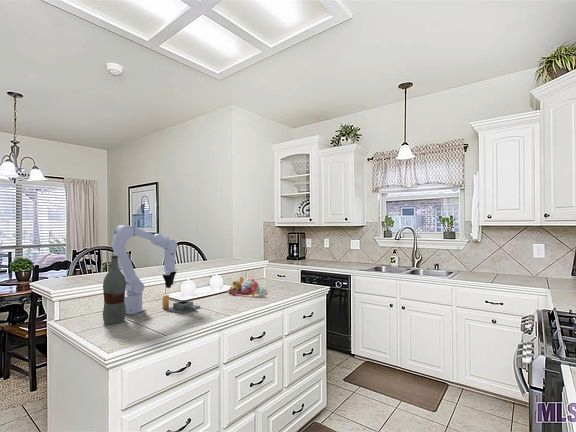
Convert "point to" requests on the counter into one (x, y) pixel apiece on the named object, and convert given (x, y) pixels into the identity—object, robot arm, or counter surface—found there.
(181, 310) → the grey slotted socket block
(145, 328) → the counter surface
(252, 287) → the pastel sphere sculpture
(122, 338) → the counter surface
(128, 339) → the counter surface
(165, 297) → the round-ended pin
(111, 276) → the bottle
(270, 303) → the counter surface
